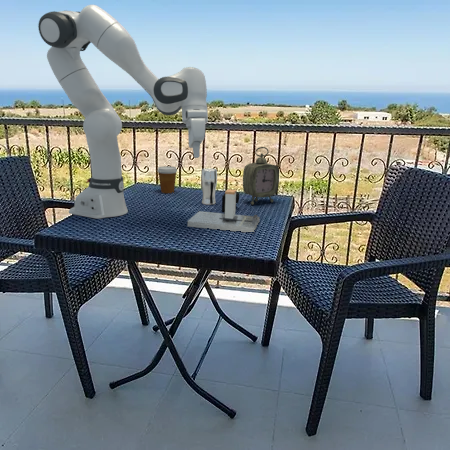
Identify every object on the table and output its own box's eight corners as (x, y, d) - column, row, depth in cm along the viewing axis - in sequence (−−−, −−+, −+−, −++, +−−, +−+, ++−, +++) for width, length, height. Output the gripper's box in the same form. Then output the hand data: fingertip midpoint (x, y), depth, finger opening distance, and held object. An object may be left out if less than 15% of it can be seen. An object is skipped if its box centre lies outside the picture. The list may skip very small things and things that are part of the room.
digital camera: (234, 213, 158) (235, 196, 156) (221, 212, 159) (222, 195, 157) (238, 207, 168) (239, 191, 166) (226, 206, 169) (227, 190, 167)
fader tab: (222, 219, 141) (222, 191, 138) (224, 216, 145) (225, 189, 142) (235, 220, 140) (236, 192, 137) (237, 217, 144) (238, 190, 141)
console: (187, 226, 140) (187, 215, 139) (199, 216, 153) (199, 206, 152) (253, 233, 135) (253, 222, 133) (259, 221, 148) (260, 211, 146)
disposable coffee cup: (155, 193, 187) (154, 168, 184) (161, 189, 196) (161, 165, 193) (174, 194, 186) (173, 169, 182) (179, 190, 195) (179, 166, 191)
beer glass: (216, 205, 169) (217, 171, 165) (200, 204, 169) (200, 170, 165) (216, 201, 176) (217, 168, 171) (201, 200, 176) (201, 168, 172)
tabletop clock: (250, 206, 169) (253, 148, 162) (239, 201, 177) (242, 146, 169) (277, 203, 176) (281, 147, 169) (265, 198, 184) (268, 145, 176)
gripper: (183, 123, 143) (185, 161, 144) (188, 110, 123) (189, 154, 124) (200, 123, 144) (202, 160, 145) (207, 110, 124) (209, 153, 125)
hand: (196, 157), depth 134 cm, fingers closed
